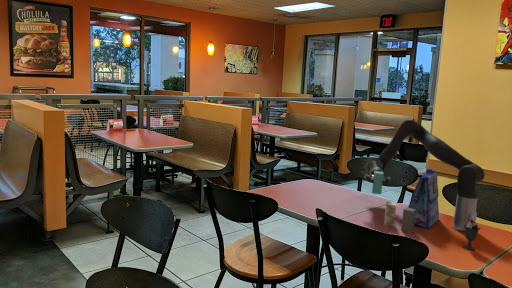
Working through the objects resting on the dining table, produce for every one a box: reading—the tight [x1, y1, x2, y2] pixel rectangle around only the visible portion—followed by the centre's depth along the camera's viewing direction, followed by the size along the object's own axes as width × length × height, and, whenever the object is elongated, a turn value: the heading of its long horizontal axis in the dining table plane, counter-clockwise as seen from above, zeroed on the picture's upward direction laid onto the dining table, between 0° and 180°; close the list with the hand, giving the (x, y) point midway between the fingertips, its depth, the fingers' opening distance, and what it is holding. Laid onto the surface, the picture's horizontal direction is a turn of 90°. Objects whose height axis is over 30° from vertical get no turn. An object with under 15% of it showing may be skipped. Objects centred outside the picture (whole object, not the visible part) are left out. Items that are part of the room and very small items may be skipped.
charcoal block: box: [400, 207, 416, 234], centre depth 201 cm, size 4×4×11 cm
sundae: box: [462, 215, 481, 251], centre depth 183 cm, size 7×7×15 cm
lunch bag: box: [408, 168, 440, 230], centre depth 215 cm, size 22×14×29 cm, turn 143°
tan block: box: [383, 201, 397, 227], centre depth 208 cm, size 4×4×11 cm
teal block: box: [371, 171, 383, 195], centre depth 216 cm, size 4×4×11 cm
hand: (378, 181), depth 213 cm, fingers closed on teal block, 4 cm apart
